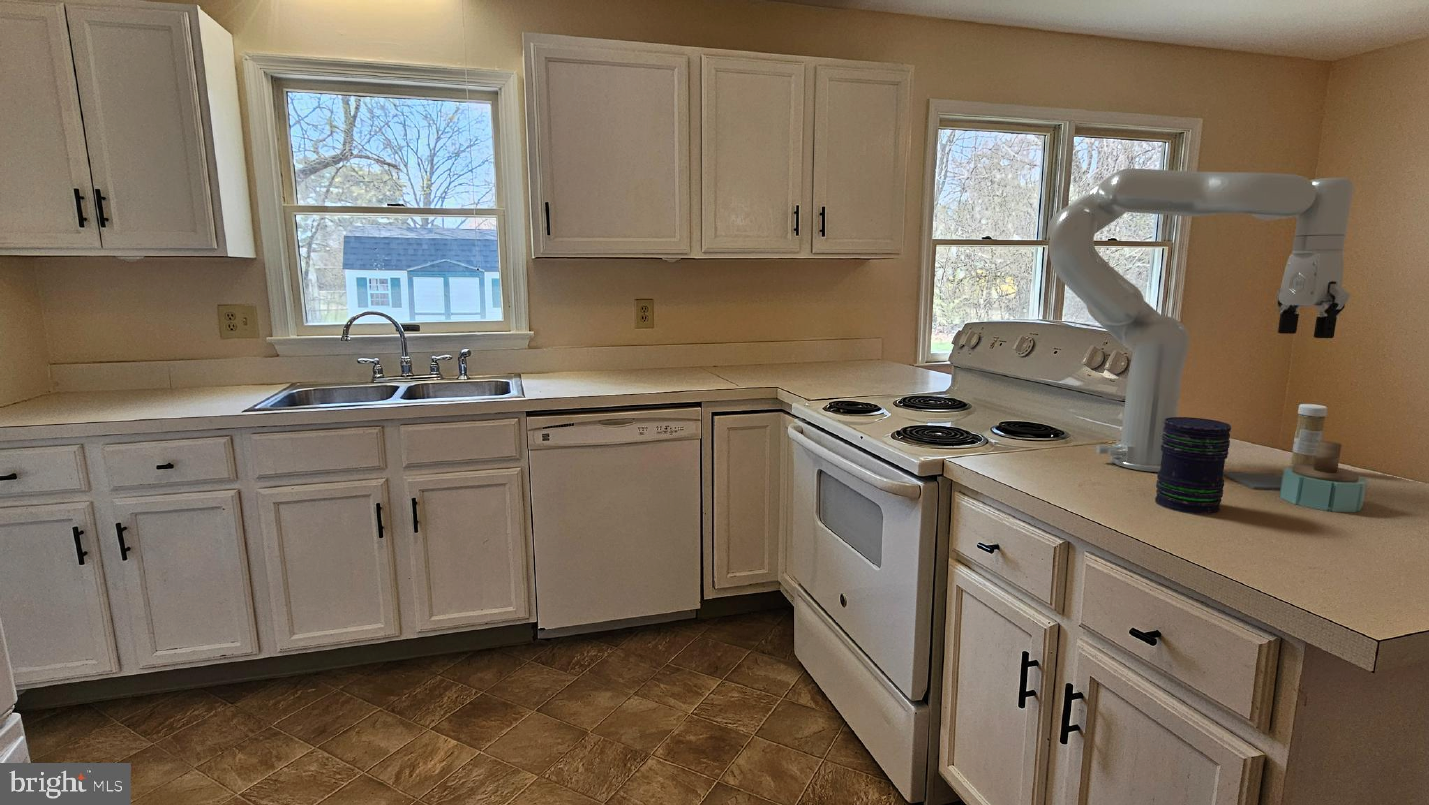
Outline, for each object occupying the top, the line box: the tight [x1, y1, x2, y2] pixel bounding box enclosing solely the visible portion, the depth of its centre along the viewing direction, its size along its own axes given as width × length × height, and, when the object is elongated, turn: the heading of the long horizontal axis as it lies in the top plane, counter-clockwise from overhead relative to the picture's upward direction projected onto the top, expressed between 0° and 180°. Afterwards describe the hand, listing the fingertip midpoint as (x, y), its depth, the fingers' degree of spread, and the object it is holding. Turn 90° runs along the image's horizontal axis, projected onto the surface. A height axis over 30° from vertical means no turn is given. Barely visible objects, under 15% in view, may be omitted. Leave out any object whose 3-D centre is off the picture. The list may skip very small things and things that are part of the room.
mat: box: [1223, 471, 1282, 491], centre depth 140 cm, size 10×10×1 cm
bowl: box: [1279, 466, 1368, 513], centre depth 128 cm, size 11×11×5 cm
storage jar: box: [1154, 416, 1232, 515], centre depth 125 cm, size 10×10×15 cm
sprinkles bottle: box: [1289, 403, 1328, 467], centre depth 148 cm, size 5×5×14 cm
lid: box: [1292, 440, 1360, 482], centre depth 127 cm, size 9×9×6 cm
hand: (1304, 335), depth 139 cm, fingers open, 9 cm apart
